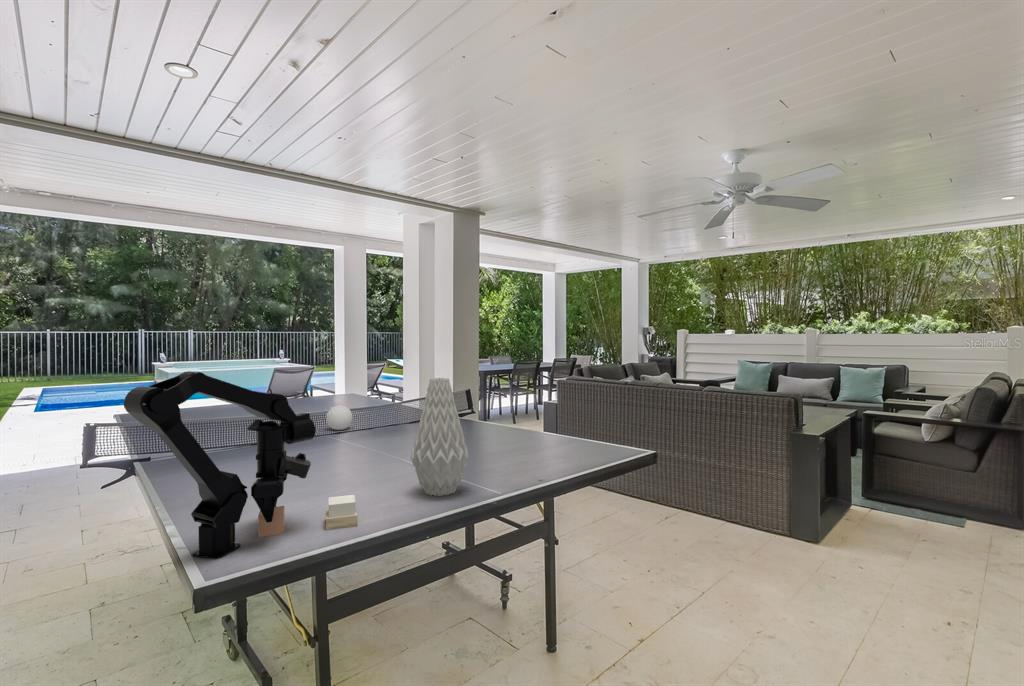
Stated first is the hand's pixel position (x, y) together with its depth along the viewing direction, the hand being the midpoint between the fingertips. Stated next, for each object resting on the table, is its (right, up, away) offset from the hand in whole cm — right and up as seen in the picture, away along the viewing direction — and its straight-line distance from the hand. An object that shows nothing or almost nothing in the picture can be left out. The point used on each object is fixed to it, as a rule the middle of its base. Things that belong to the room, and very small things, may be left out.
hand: (271, 515), depth 117 cm
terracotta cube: (0, -4, 0) cm, 4 cm away
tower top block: (+14, -1, +6) cm, 16 cm away
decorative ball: (-29, -3, +130) cm, 134 cm away
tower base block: (+14, -4, +5) cm, 16 cm away
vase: (+35, -4, +30) cm, 46 cm away
